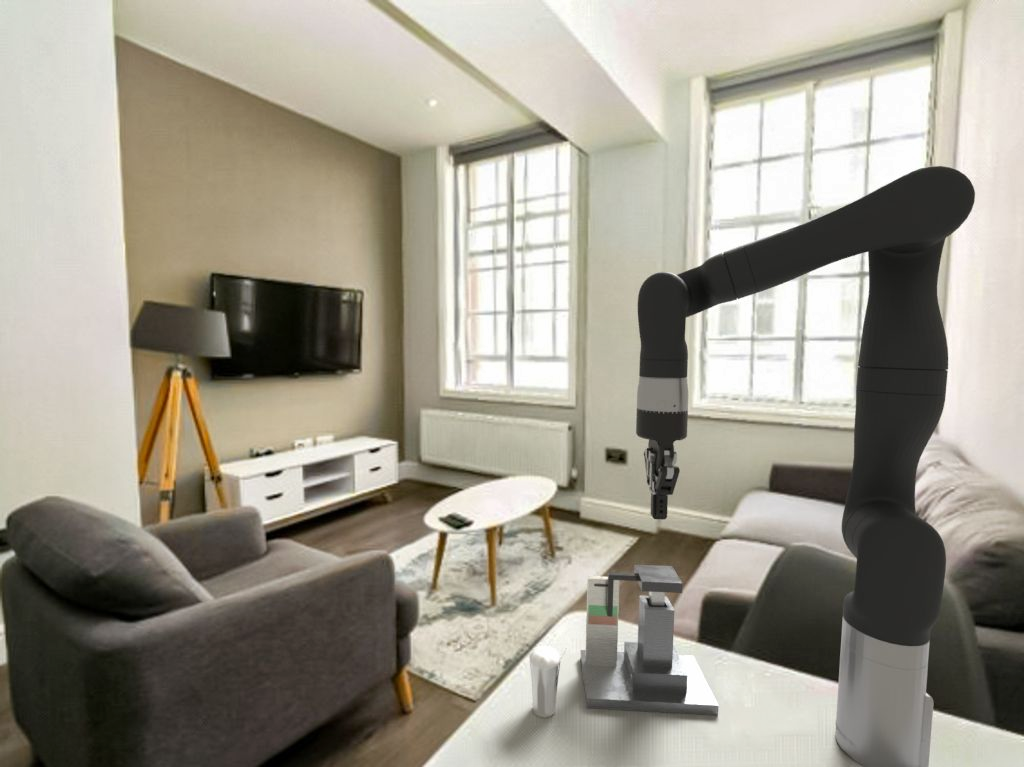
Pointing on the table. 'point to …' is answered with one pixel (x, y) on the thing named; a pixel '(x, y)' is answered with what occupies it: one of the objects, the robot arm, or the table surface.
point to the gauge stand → (639, 661)
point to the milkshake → (544, 679)
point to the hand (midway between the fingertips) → (658, 517)
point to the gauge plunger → (647, 583)
